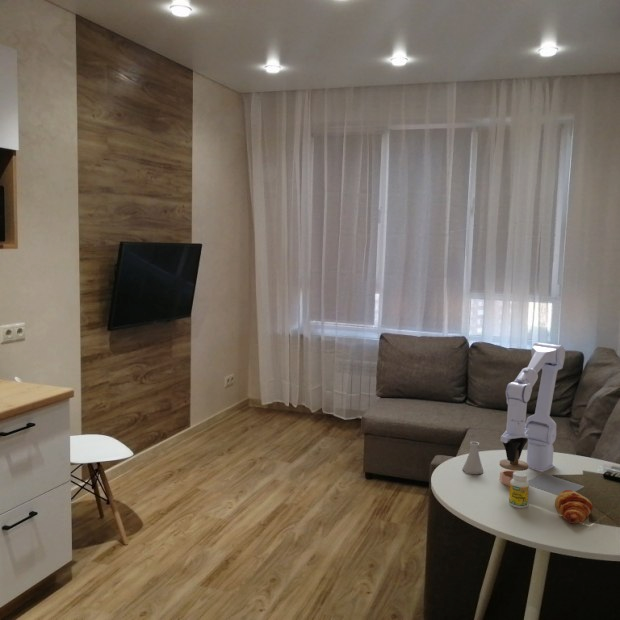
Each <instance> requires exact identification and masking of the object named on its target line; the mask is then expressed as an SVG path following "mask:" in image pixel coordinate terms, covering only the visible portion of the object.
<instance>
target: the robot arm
mask: <svg viewBox="0 0 620 620" xmlns="http://www.w3.org/2000/svg"><path fill="white" fill-rule="evenodd" d="M565 350H566V349H565V346H564V345H562V344H559V345H558V344H552V343H546V342H539V341H535V342H534V343H533V344H532V347H531V351H530V352H531V353H530V354H531V359H530V360H529V363H528V365H527V367H524V368H522V369H521V371H520V372H519V374H518V375H517V376H516V378H515V379H514V381H512V382H508V384H507V386H506V388H505V397H506V404H507V415H506V416H507V417H506V426H505V427H506V428H505V429H506V430H505V431H504V433H503V434H502V435H501V436H500V443H502V444H503V447H504V450H505V453H506V454H505V455H506V459H507V460H508V461H512V462H514V460H515V457H516V452H517V450H519V458H518V460H520V458H521V455H522V453H523V450H524V447H525V446H526V444H527V449H526V450H527V451H526V452H527V453H526V461H525V462H526V463H527V464H528V465H529V468H528V469H532V470H534V471H537V472H541V473H543V472H546V471H548V470H550V469H552V468H554V467H556V464H553V461H554V460H553V459H554V450H555V449H554V446H553V444H554V443H555V442H556V439H557V423H556V422H555V420H554V419H553V418H552V417H551V416H550V415H551V409H552V403H553V399H554V397H553V396H554V393H555V386H556V381H557V376H558V371H560V370H562V369H563V367H564V363H565V357H566V351H565ZM541 370H542V372H541V375H540V376H541V377H540V383H539V389H538V393H537V398H536V399H537V400H536V407H535V411H534V414H532V415H529V416H528V417H527V408H528V407H527V406H528V402H529V401H530V398H531V394H532V391H533V387H534V385H535V384H536V382H537V380H538V379H539V376H538V375H539V374H538V373H539V372H540V371H541Z"/></svg>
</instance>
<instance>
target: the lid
mask: <svg viewBox="0 0 620 620" xmlns="http://www.w3.org/2000/svg"><path fill="white" fill-rule="evenodd" d="M518 458H519V450H517V452H516V457H515V460H514V462H512V461H508V460H507V458H505V459H501V460H499V466H500V467H501V468H502V469H504V470H514V471H517V472H524V471H527V470H529V469H530V468H529V465H528V464H527V463H526V462H527V461H523V460H520V458H519V460H518Z"/></svg>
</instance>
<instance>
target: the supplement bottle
mask: <svg viewBox="0 0 620 620" xmlns="http://www.w3.org/2000/svg"><path fill="white" fill-rule="evenodd" d="M527 479H528V474H527V473H525V472H524V471H517V472H514V473H513V479H512V480H511V481H510V486H509V492H508V493H509V496H508V497H509V498H508V504H509V505H510V506H511V507H514V508H516V509H524V508H527V507H528V505H529V504H528V503H529V488H530V486H529V483H528V481H529V480H527Z"/></svg>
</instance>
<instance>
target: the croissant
mask: <svg viewBox="0 0 620 620" xmlns="http://www.w3.org/2000/svg"><path fill="white" fill-rule="evenodd" d="M554 506H555V508H556V511H557V513H558V514H559V515H560V516H561V517H563V519H564V520H566V521H567V522H568V523H570V524H579V523H580V524H581V523H583V522H584V521H585V520H586V519H587V518H589V515H590V514H591V513H592V511H593V509H594V506H593V503H592V502H591V501H590V500H589V499H588V498H587V497H586V496H584V495H582V494H580V493H579V492H577V491H576V492H574V491H572V490H564V491H563V492H561V494H559V495H557V496H556V498H555V499H554ZM587 520H588V519H587Z"/></svg>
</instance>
